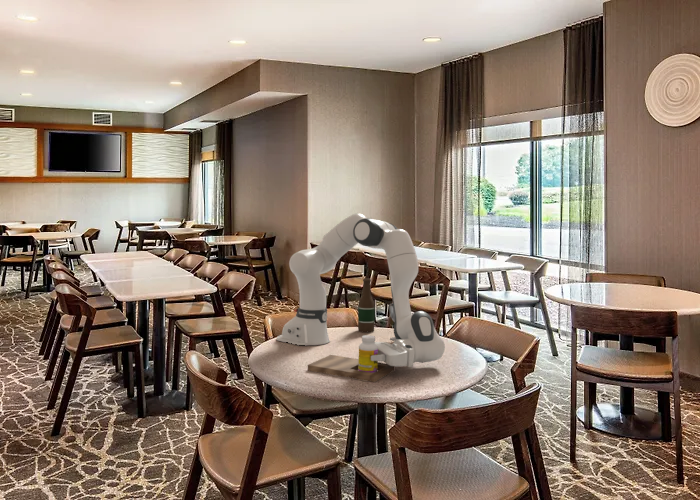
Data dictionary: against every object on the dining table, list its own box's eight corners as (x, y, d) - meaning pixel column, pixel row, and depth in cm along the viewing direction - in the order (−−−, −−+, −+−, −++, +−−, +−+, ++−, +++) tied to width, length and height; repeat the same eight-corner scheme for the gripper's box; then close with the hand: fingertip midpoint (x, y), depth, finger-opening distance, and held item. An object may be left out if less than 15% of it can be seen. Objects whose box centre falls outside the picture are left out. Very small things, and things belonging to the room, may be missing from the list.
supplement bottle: (375, 376, 206) (376, 339, 205) (356, 375, 207) (357, 338, 206) (378, 371, 212) (379, 335, 211) (360, 369, 214) (360, 334, 213)
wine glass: (410, 338, 262) (411, 304, 261) (402, 342, 255) (402, 307, 254) (394, 336, 266) (395, 302, 265) (385, 339, 260) (386, 305, 258)
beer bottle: (376, 329, 278) (377, 278, 276) (371, 333, 271) (372, 280, 269) (360, 328, 281) (361, 277, 279) (355, 331, 274) (356, 279, 271)
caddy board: (307, 370, 212) (307, 364, 212) (330, 359, 226) (330, 354, 226) (374, 382, 200) (374, 376, 200) (394, 370, 214) (394, 364, 214)
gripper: (389, 336, 223) (354, 339, 218) (415, 349, 204) (378, 353, 199) (389, 353, 224) (354, 356, 219) (415, 368, 205) (377, 372, 200)
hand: (365, 355), depth 209 cm, fingers closed on supplement bottle, 7 cm apart
